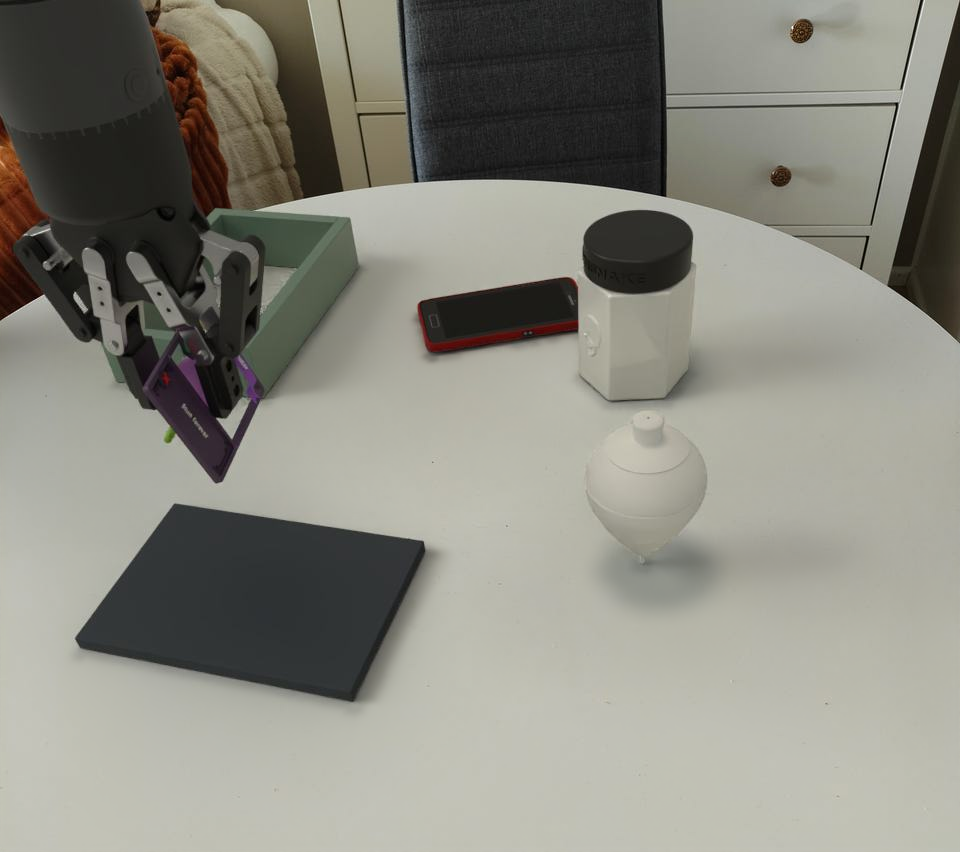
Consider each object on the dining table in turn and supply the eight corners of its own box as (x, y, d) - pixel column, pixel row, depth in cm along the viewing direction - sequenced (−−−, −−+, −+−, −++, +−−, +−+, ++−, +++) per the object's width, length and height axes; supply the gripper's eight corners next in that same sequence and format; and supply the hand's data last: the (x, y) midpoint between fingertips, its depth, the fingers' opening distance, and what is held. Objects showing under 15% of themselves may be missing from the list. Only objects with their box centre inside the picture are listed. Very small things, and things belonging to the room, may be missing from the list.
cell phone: (416, 310, 94) (415, 300, 93) (573, 284, 95) (573, 274, 94) (427, 355, 89) (426, 345, 88) (593, 328, 90) (593, 318, 89)
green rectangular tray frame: (116, 381, 91) (95, 331, 87) (228, 256, 104) (215, 207, 101) (262, 399, 87) (248, 347, 83) (359, 266, 101) (350, 217, 97)
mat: (79, 648, 69) (73, 638, 68) (178, 512, 78) (174, 502, 77) (353, 702, 64) (350, 692, 63) (426, 550, 73) (424, 540, 72)
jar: (562, 363, 87) (559, 227, 78) (643, 333, 89) (649, 196, 80) (620, 416, 81) (624, 276, 72) (705, 382, 83) (719, 242, 74)
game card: (158, 383, 53) (211, 292, 59) (82, 410, 55) (141, 319, 61) (232, 480, 57) (275, 386, 63) (159, 502, 59) (207, 409, 65)
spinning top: (721, 558, 70) (740, 412, 61) (649, 620, 67) (657, 475, 58) (634, 510, 74) (640, 366, 65) (562, 566, 71) (557, 423, 62)
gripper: (258, 62, 47) (328, 381, 60) (-1, 55, 51) (118, 357, 63) (181, 131, 42) (275, 461, 55) (-98, 118, 46) (51, 431, 59)
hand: (190, 404), depth 59 cm, fingers closed on game card, 4 cm apart
